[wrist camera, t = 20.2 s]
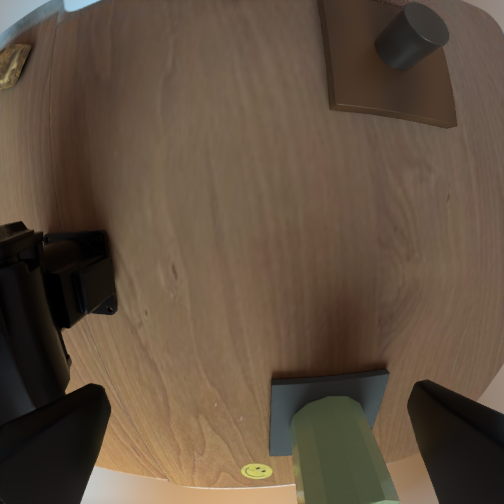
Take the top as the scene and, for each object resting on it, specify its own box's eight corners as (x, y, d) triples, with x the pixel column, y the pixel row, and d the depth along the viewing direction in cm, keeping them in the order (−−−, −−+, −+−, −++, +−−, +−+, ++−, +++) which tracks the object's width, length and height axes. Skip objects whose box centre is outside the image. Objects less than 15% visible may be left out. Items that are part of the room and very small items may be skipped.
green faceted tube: (280, 411, 21) (289, 523, 10) (355, 384, 21) (399, 489, 10) (302, 450, 22) (315, 543, 12) (366, 428, 22) (400, 516, 11)
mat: (269, 450, 23) (269, 456, 23) (271, 379, 21) (271, 385, 21) (364, 440, 23) (365, 445, 22) (386, 368, 21) (389, 373, 20)
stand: (329, 110, 17) (362, 77, 11) (317, 1, 15) (334, -50, 8) (446, 128, 17) (501, 116, 10) (426, 26, 15) (464, -5, 8)
